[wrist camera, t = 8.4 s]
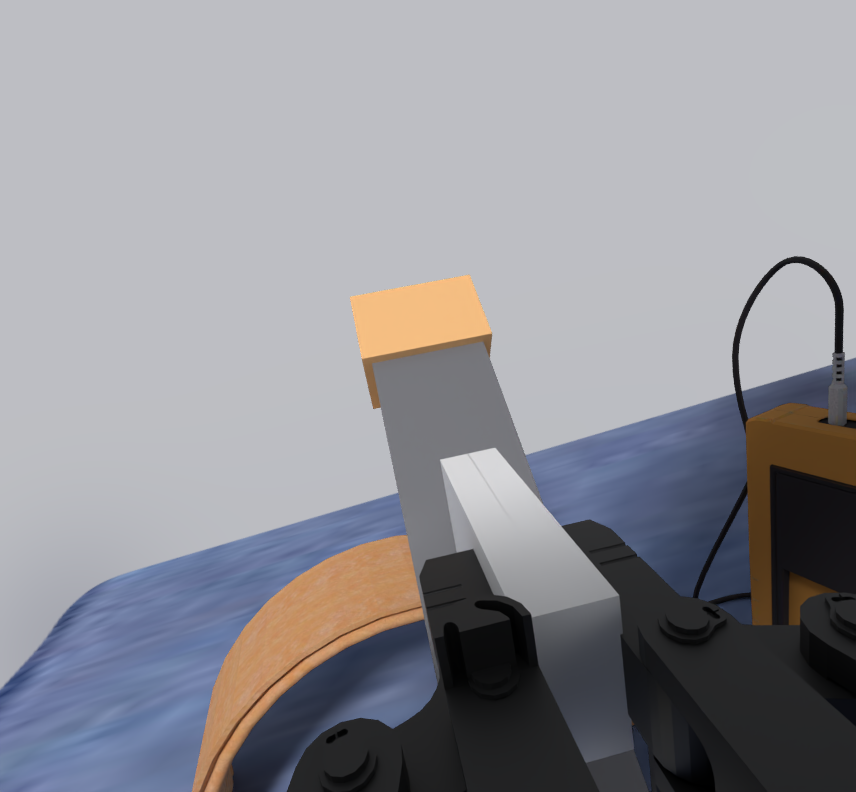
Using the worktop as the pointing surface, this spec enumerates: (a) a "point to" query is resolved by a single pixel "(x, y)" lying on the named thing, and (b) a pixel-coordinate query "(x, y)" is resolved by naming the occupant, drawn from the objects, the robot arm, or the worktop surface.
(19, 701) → the worktop surface
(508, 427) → the lever
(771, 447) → the multimeter
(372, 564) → the arch
